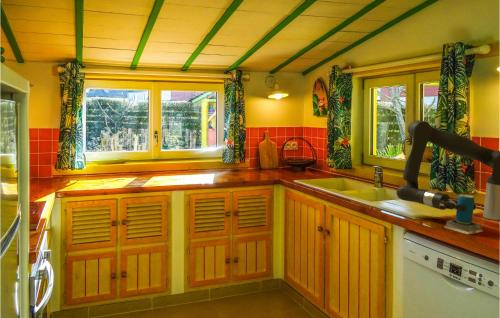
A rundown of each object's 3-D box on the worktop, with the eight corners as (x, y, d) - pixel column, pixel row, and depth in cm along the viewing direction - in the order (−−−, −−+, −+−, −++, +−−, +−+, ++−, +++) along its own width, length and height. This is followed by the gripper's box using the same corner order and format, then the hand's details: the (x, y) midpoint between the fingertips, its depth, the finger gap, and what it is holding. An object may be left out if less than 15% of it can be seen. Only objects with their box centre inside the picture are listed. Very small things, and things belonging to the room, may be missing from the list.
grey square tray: (459, 225, 198) (459, 218, 198) (482, 231, 189) (483, 224, 189) (444, 227, 193) (444, 221, 192) (467, 234, 183) (468, 227, 183)
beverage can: (459, 220, 195) (463, 193, 194) (474, 223, 190) (477, 196, 189) (452, 221, 191) (455, 194, 190) (466, 225, 186) (470, 197, 185)
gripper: (427, 192, 198) (461, 200, 184) (446, 191, 205) (481, 198, 191) (425, 209, 199) (459, 218, 185) (445, 206, 206) (479, 215, 192)
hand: (470, 208), depth 188 cm, fingers closed on beverage can, 6 cm apart
